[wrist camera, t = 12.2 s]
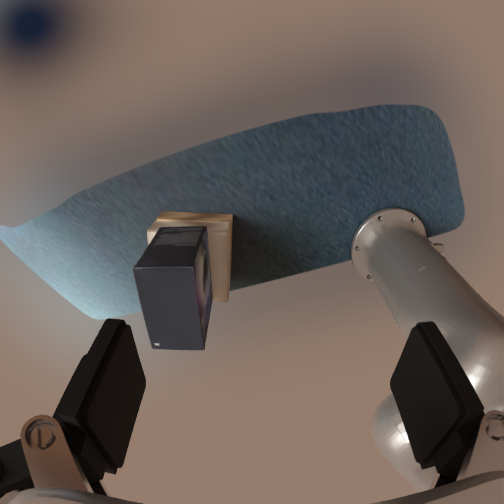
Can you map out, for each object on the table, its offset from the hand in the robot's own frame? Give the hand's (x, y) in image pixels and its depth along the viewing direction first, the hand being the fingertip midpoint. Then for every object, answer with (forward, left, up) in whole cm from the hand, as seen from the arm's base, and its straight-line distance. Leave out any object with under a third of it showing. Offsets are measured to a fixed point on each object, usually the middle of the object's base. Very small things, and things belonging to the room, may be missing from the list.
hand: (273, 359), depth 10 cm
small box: (+9, +12, -28) cm, 32 cm away
